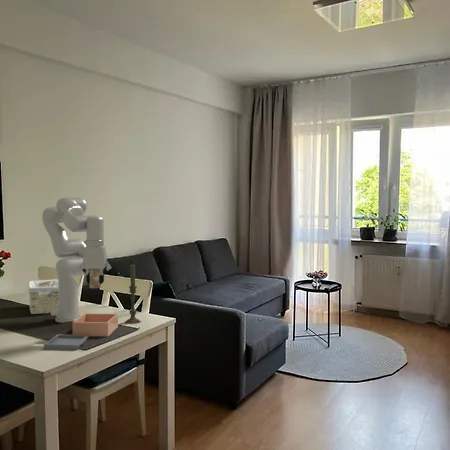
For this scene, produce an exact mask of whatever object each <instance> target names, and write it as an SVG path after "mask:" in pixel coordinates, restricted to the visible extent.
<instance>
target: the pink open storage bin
mask: <svg viewBox="0 0 450 450" xmlns="http://www.w3.org/2000/svg"><path fill="white" fill-rule="evenodd" d="M117 328H119V314H118V313H87V312H86V313H83V314H82V315H80V317H79V318H78V319H76V320H75V321H72V335H89V337H109V336H110V335H111V334H112V333H113V332H114V331H115V330H116V329H117Z"/></svg>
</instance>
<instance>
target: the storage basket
mask: <svg viewBox="0 0 450 450" xmlns="http://www.w3.org/2000/svg"><path fill="white" fill-rule="evenodd" d="M27 284H28V292H29V311H30V314H31V315H35V314H37V315H39V314H41V315H42V314H51V311H55V312H57V311H58V278H54V279H42V280H30V281H28V283H27ZM40 286H41V287H40Z"/></svg>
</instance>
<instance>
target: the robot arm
mask: <svg viewBox="0 0 450 450" xmlns="http://www.w3.org/2000/svg"><path fill="white" fill-rule="evenodd" d="M87 205H88V204H87V202H86V200H85V199H84V198H83V197H75V196H74V197H69V196H68V197H66V196H65V197H61V198H59V199H58V200H57V201H56V205H55V206H49V207H46V208H45V209H44V210H43V211H42V214H41V215H42V219H41V220H42V224H43V227H44V229H45V231H46V232H47V234H48V235H49V238H50V242H51V244H52V247H53V248H52V249H53V251H54V254H55V257H57V258H59V260H57V262H56V264H55V271H56V276H57V280H58V311H57V312H55V311H51V313H50V316H51V317H55V322H57V323H60V324H64V323H65V322H74V321H75V320H76V319H78V318H79V317H80V316H81V315H79V284H78V282H77V280H76V279H75V278H74V277H79V276H86V278H85V279H86V283H87V285H88V284H89V285H90V269H99V270H100V284H101V285H102V284H103V283H104V282H105V274H107V272H108V271H109V270H111V269H112V266H111V264H110V263H109V261H108V258H107V257H108V256H107V251H106V246H105V245H104V243H105V242H104V237H105V236H104V230H105V229H104V227H105V226H104V218H103V217H102V216H97V215H93V214H92V215H84V214H85V213H86V211H87ZM60 224H63V225H64V226H65V228H66V229H68V230H69V231H70V232H73V233H81V232H82V233H83V232H86V234H85V235H86V240H83V239H81V238H70V237H69V236H68V231H66V229H65V228H64V227H63V226H62V225H60Z"/></svg>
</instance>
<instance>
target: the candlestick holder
mask: <svg viewBox="0 0 450 450" xmlns="http://www.w3.org/2000/svg"><path fill="white" fill-rule="evenodd" d="M137 286H138V285H136V264H130V285H129V287H128V289H129V293H130V303H131V305H130V306H131V308H130V310H129V311H128V312H129V315H130V317H129V318H128V319H126V320H125V321H124V323H125V324H127V325H136V324H137V325H138V324H140V323H142V321H141V320H140V319H139V318H137V317H136V314H137V310H136V309H135V301H136V296H135V295H136V294H135V293H137V288H138V287H137Z"/></svg>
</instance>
